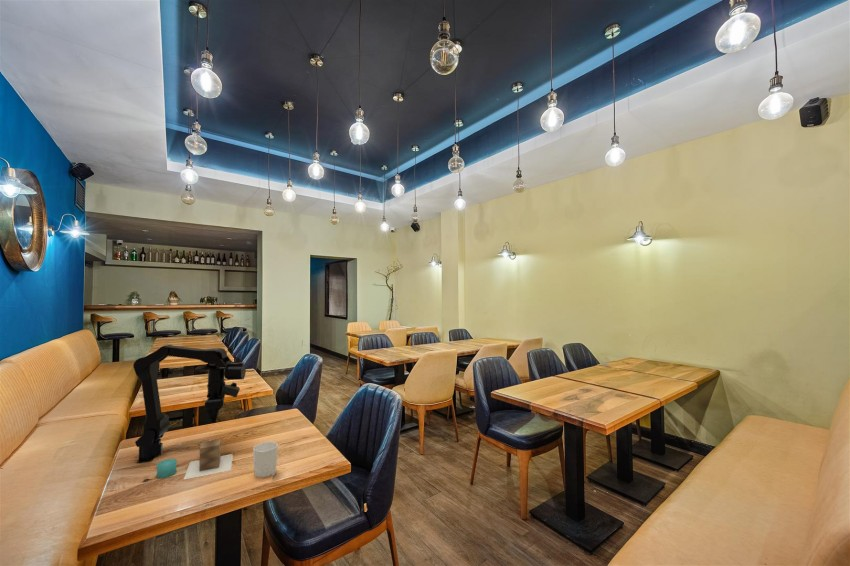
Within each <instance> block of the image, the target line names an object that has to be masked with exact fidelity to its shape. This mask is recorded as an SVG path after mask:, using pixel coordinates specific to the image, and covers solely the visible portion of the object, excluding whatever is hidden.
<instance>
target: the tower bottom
mask: <svg viewBox="0 0 850 566" xmlns="http://www.w3.org/2000/svg"><path fill="white" fill-rule="evenodd" d="M220 453H221V450H220ZM220 456H221V454H220V455H219V457H213V458H208V459H202V460H200V459H199V460H200V462H199V471H204V470H209V469H214V468H219V465H220Z"/></svg>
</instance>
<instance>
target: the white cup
mask: <svg viewBox="0 0 850 566" xmlns="http://www.w3.org/2000/svg"><path fill="white" fill-rule="evenodd" d="M278 447H279V444H278V443H277V442H275V441H265V442H261V443H260V442H259V443H258V444H256V445H254V446H253V449H252V450H253V454H252V455H253V470H254V476H255V477H256V478H266V477H269V476H271V477H272V476H275V475H276V472H277V465H278V464H277V463H278V462H277V461H278Z"/></svg>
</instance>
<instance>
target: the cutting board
mask: <svg viewBox="0 0 850 566" xmlns="http://www.w3.org/2000/svg"><path fill="white" fill-rule="evenodd" d="M233 457H234V453H231V454H224V455H220V465H219V468H214V469H209V470H204V471H199V462H200V459H198V460H197V459H196V460H191V461H190V462H189V464H188V467H187V470H186V472H185V475H184V478H183V481H184V480H189V479H194V478H199V477H203V476H208V475H213V474H219V473H224V472H229V471H230V472H231V470H232V465H233Z"/></svg>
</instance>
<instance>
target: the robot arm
mask: <svg viewBox="0 0 850 566" xmlns="http://www.w3.org/2000/svg"><path fill="white" fill-rule="evenodd" d="M168 357H173V358H182V359H191V360H199V361H201V362H203V363H205V364H206V365H205V366H204V367H202V371H207V384H206V385H207V394H206V400H205V401H204V409H205V411H206V413H207V415H208V417H209V419H210V421H211V422H212V424H215V423H217V419H218V416H219V415H218V414H219V412H220V410H221V409H222V408H223V407H224V405H225V404H224V403H225V402H224V401H225V396H230V397H232V398H237V397H238V395H239V392H240V389H241V388H240V387H239V386H237V385H238V384H237V382H232V383H230V384H226V381H225V379H227V380H228V381H234V380H241V381H242V380H244V379H245V376H246V373H247V372H246V370H247V369H246V366H245V363H244V362H242V361H240V362H233V361H232V360H231V358H230V357H229V356H228V353H227V351H226V349H225V348H223V347H215V348H213V347H212V348H195V347H187V346H179V345H173V344H166V345H163V346H161V347H160V348H157V350H154V351H153V352H151V353H149V354H148V355H146V356H142V357H140V358H137V359H136V360H135V361H134V362H133V367H132V368H133V370H134V373H135V375H136V377H137V378H138V379H139V380H140V383H141V387H142V389H141V391H142V396H143V402H144V403H143V404H144V410H145V421H144V424H143V426H142V427H143V429H142V435H141V436H140V437H139V438H137V439H136V440H135V442H134V443H135V445H136V448H138V460H136V463H137V464H139V463H145V462H149V461H151V462H152V461H154V460H155V457H159V456H162V454H163V445H164V444H163V442H162V438H163V437H164V436H165V435H164V434H166V433H167V431H168V430H169V428H170V427H169V426H171V423H170V416H169V415H168V414H166V415H165V414H163V412H162V405H161V399H160V393H159V386H158V379H157V377H158V374H159V371H160V363H161V362H163V361H164V360H165V359H166V358H168Z"/></svg>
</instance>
